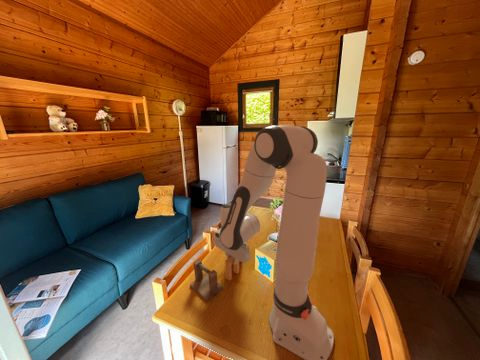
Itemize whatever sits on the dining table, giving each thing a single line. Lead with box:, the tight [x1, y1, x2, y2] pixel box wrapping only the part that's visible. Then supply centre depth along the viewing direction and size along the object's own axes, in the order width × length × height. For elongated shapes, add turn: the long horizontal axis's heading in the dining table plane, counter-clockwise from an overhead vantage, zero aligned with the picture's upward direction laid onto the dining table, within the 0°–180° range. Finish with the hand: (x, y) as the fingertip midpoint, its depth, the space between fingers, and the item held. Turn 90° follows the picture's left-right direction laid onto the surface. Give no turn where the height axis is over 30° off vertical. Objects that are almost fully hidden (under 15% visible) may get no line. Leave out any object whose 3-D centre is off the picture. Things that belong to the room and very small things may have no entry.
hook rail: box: [189, 258, 224, 302], centre depth 89 cm, size 12×9×11 cm
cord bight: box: [224, 256, 240, 281], centre depth 96 cm, size 2×7×10 cm, turn 138°
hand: (232, 261), depth 95 cm, fingers closed on cord bight, 2 cm apart
